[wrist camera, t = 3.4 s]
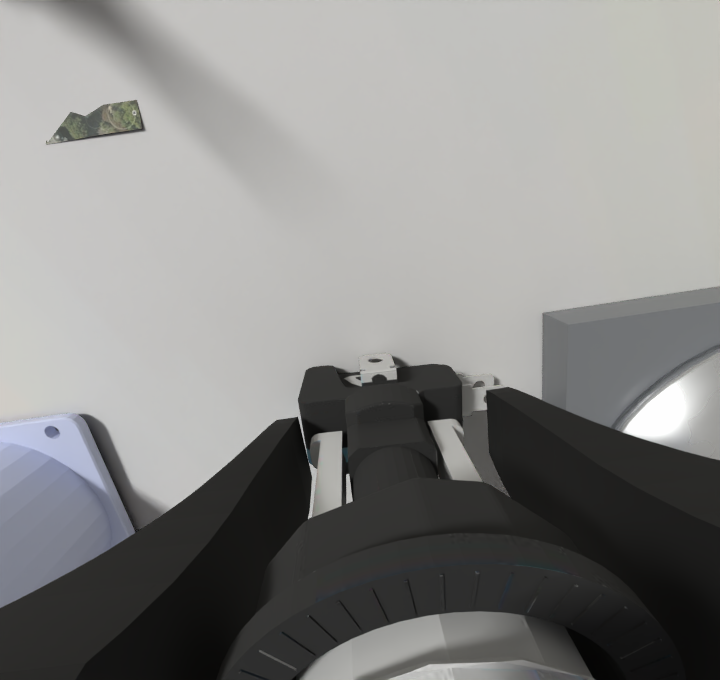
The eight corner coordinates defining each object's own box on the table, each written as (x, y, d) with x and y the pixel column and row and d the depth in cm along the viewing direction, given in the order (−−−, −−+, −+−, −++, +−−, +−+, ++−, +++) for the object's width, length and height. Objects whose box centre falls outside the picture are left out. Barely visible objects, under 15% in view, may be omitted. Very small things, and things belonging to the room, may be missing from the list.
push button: (487, 307, 12) (1119, 640, 2) (486, 443, 13) (845, 980, 4) (290, 328, 12) (46, 771, 2) (312, 462, 13) (231, 1062, 4)
